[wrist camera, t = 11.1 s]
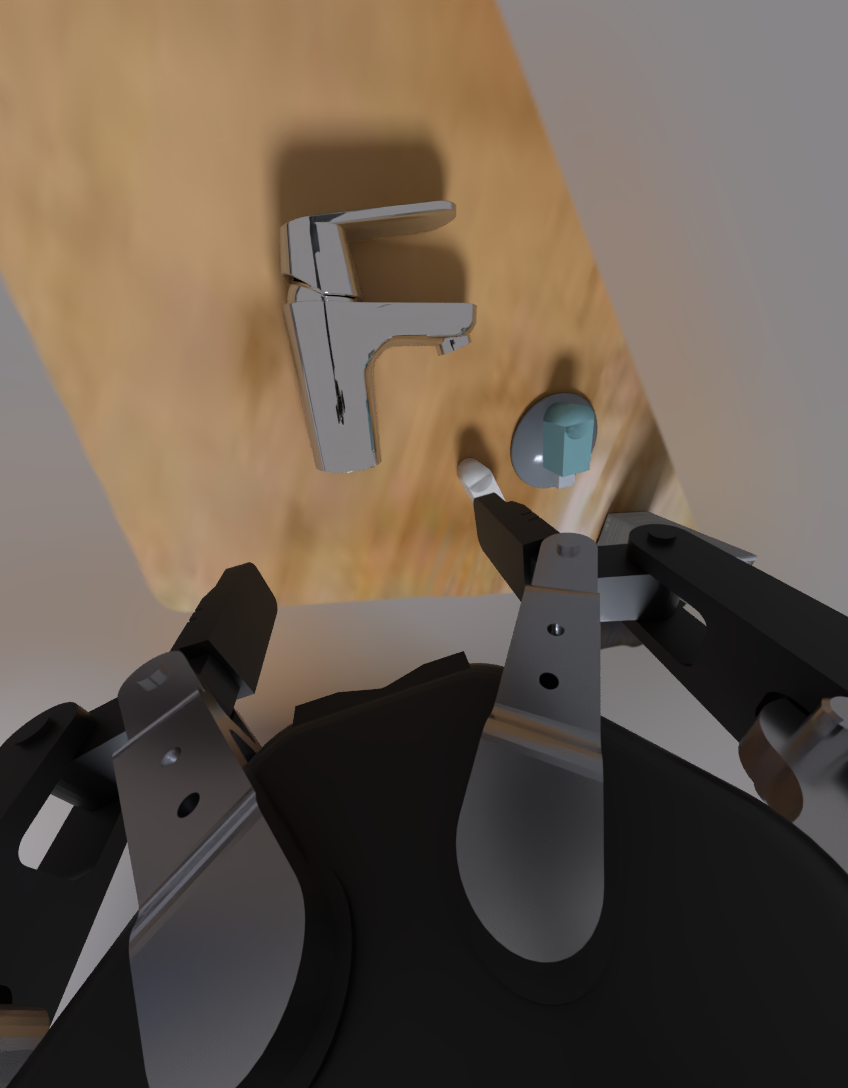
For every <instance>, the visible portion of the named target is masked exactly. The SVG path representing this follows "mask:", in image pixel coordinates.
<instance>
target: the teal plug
mask: <svg viewBox="0 0 848 1088" xmlns="http://www.w3.org/2000/svg"><path fill="white" fill-rule="evenodd" d="M593 426H594V413H593V411H592V409H591V408H590V407H588V406H584V405H577V404H571V403H565V402H556V403H554V404H552V405H551V406H550V407H549V408H548V409H547V411H546V412H545V415H544V419H543V468H545V469H547V470H549V471H551V472H553V473H555V485H554V487H556V488H558V489H561V488H565V487H568V486H572V485H574V479H575V474H576V473H580V472H584V471H587V470H589V469H590V458H591V448H592V437H593Z"/></svg>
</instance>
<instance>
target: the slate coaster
mask: <svg viewBox="0 0 848 1088" xmlns="http://www.w3.org/2000/svg"><path fill="white" fill-rule="evenodd" d="M556 402H565V403H571V404H577V405H584V406H588V407H590V408H591V409H592V411H593V413H594V426H593V437H592V448H591V453H592V451H593V448H594V445H595V442H596V437H597V419H596V415H595V412H594V410H593V408H592V406H591V405H590V404H589V402H588V401H586V400H585V399H584V398H582V397H581V396H579V395H576V394H571V393H556V394H552V395H549V396H547V397H545V398H543V399H541V400H539V401H538V402H536V403H535V404H534V405H533V406H531V407H530V409H529V410H528V411H527V412H526V413H525V414H524V415H523V417H522V418H521V420H520V421H519V423H518V425H517V427H516V429H515V431H514V434H513V437H512V441H511V449H510V455H511V462H512V466H513V468H514V470H515V472H516V474H517V475H518V476H519V478H520V479H522V480H523V481H524V482H526V483H527V484H529V485H531V486H534V487H538V488H550V487H554V485H555V473H553V472H551V471H549V470H547V469H545V468H543V419H544V415H545V412H546V411H547V409H548V408H549V407H550V406H551V405H552V404H554V403H556Z"/></svg>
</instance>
